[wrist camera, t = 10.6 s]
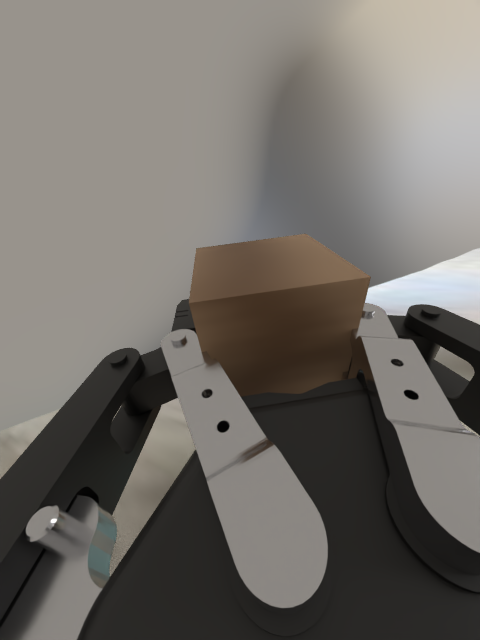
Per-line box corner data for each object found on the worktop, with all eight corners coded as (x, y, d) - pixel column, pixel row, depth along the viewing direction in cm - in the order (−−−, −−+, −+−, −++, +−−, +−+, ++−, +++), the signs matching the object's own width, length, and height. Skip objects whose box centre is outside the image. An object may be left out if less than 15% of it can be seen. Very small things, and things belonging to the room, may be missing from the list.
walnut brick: (297, 371, 15) (306, 233, 10) (330, 446, 11) (370, 276, 6) (224, 383, 15) (196, 248, 10) (230, 464, 11) (188, 303, 6)
